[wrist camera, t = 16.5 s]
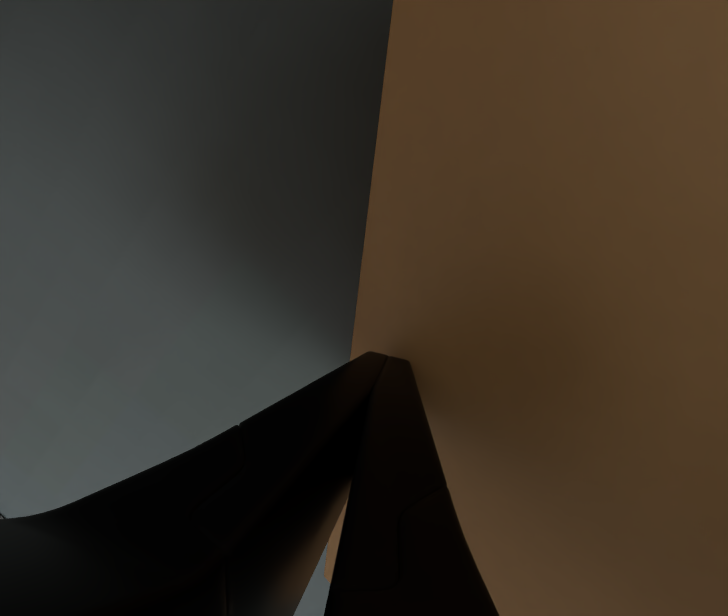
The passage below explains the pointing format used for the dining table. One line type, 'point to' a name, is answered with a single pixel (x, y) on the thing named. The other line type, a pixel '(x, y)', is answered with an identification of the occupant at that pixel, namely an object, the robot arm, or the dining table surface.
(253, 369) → the dining table surface
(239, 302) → the dining table surface
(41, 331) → the dining table surface
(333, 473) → the robot arm
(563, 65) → the flap
